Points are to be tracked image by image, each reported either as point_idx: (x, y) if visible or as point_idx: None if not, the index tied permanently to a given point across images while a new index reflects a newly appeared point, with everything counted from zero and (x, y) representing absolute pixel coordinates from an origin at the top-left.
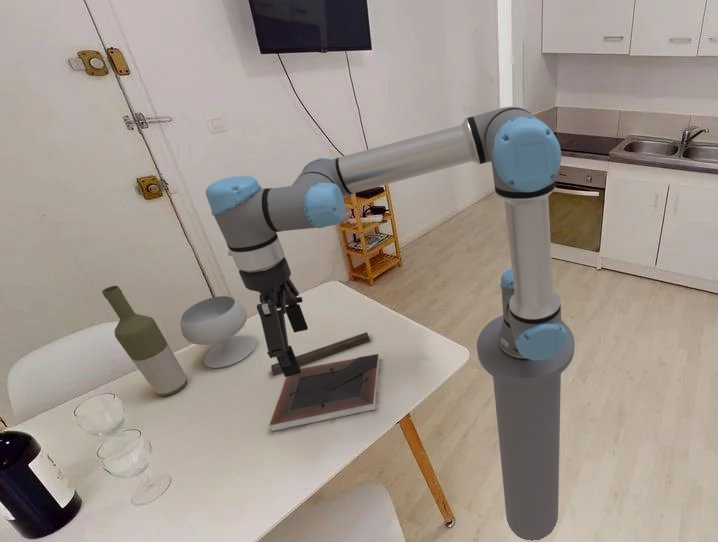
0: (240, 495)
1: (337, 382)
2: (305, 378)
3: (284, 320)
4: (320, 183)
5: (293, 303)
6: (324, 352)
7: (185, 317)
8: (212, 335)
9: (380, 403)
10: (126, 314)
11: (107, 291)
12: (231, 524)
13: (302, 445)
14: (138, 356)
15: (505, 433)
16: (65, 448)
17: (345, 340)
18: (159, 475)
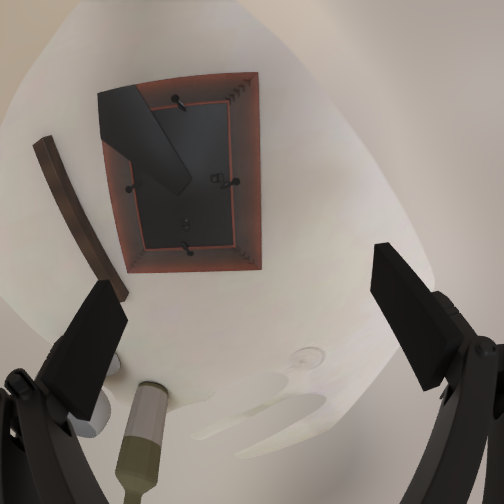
0: (361, 269)
1: (170, 165)
2: (148, 237)
3: (433, 496)
4: None
5: (50, 404)
6: (79, 219)
7: (80, 428)
8: (98, 402)
9: (238, 65)
10: (136, 500)
11: None
12: None
13: (305, 203)
14: (159, 452)
15: None
16: (227, 425)
17: (51, 185)
18: (290, 360)
